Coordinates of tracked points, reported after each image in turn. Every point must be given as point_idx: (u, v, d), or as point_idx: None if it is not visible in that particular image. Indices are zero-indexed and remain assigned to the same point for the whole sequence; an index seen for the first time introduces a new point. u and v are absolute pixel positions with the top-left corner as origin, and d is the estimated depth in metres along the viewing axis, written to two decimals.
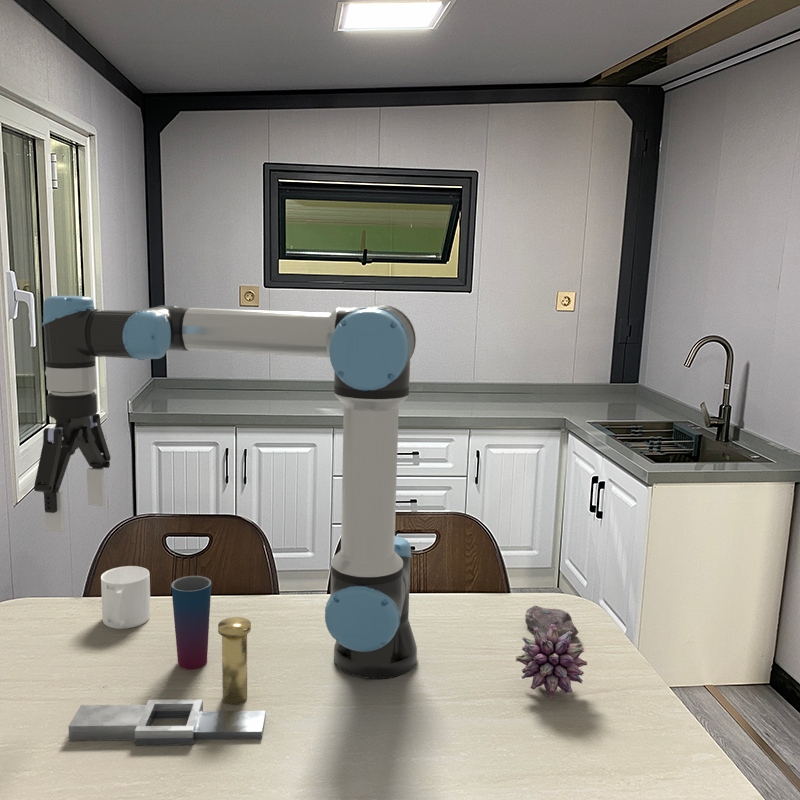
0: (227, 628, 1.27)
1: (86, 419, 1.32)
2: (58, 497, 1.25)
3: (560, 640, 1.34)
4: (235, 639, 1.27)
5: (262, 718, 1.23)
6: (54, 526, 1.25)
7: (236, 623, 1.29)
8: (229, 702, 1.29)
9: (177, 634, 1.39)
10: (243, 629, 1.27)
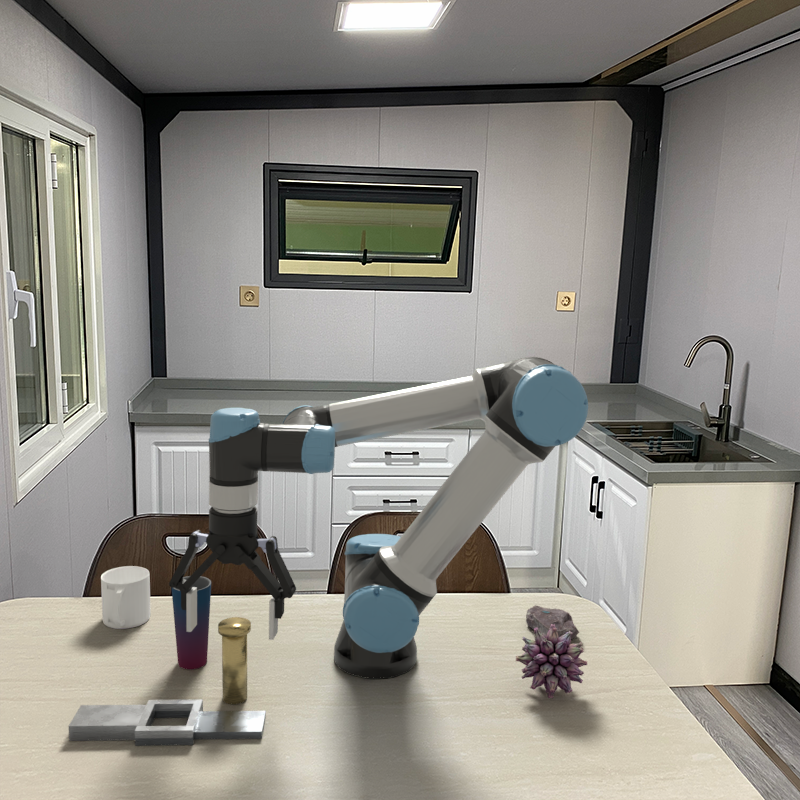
0: (227, 628, 1.27)
1: (245, 540, 1.25)
2: None
3: (560, 640, 1.34)
4: (235, 639, 1.27)
5: (262, 718, 1.23)
6: None
7: (236, 623, 1.29)
8: (229, 702, 1.29)
9: (177, 634, 1.39)
10: (243, 629, 1.27)
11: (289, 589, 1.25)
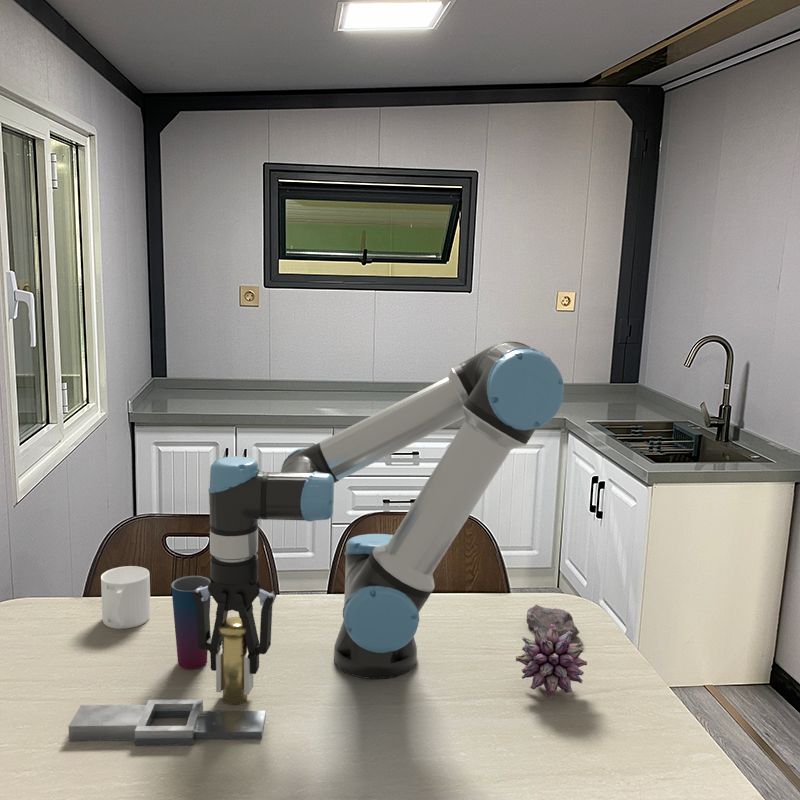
0: (227, 628, 1.27)
1: (249, 586, 1.26)
2: None
3: (560, 640, 1.34)
4: (235, 639, 1.27)
5: (262, 718, 1.23)
6: None
7: (236, 623, 1.29)
8: (229, 702, 1.29)
9: (177, 634, 1.39)
10: (243, 629, 1.27)
11: (265, 646, 1.28)
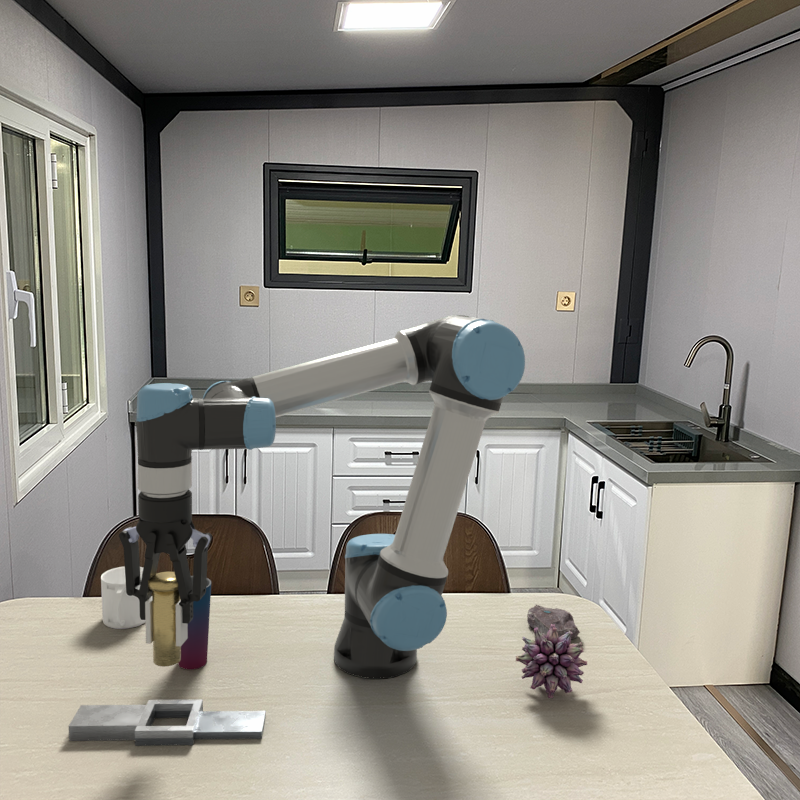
0: (157, 582, 1.16)
1: (181, 525, 1.15)
2: None
3: (560, 640, 1.34)
4: (166, 594, 1.16)
5: (262, 718, 1.23)
6: None
7: (168, 577, 1.18)
8: (160, 664, 1.18)
9: None
10: (175, 583, 1.16)
11: (199, 593, 1.16)
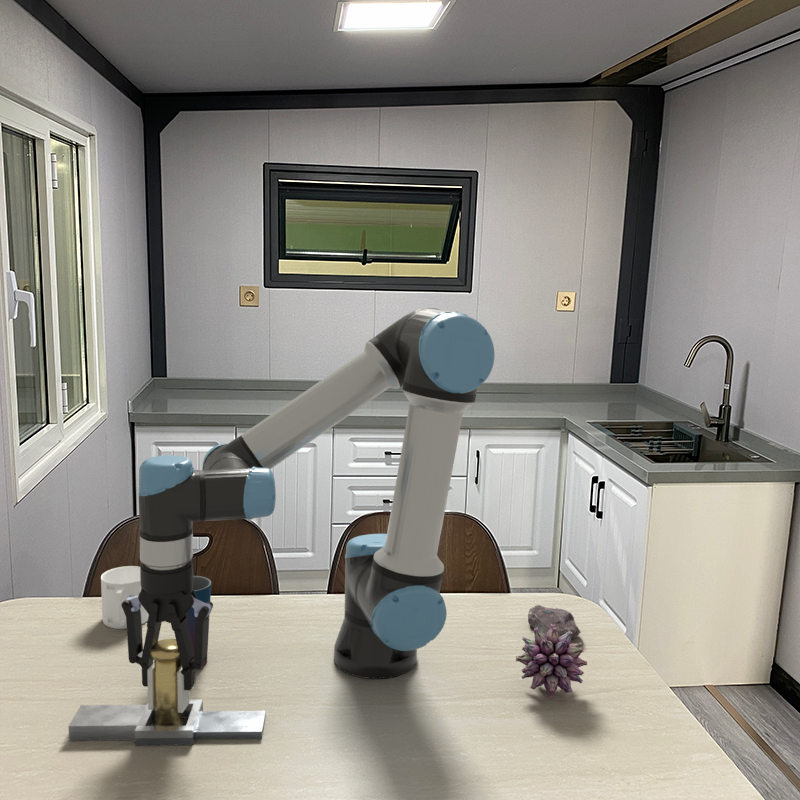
0: (159, 651, 1.18)
1: (182, 595, 1.17)
2: None
3: (560, 640, 1.34)
4: (168, 663, 1.18)
5: (262, 718, 1.23)
6: None
7: (170, 646, 1.20)
8: None
9: None
10: (176, 652, 1.18)
11: (200, 661, 1.18)
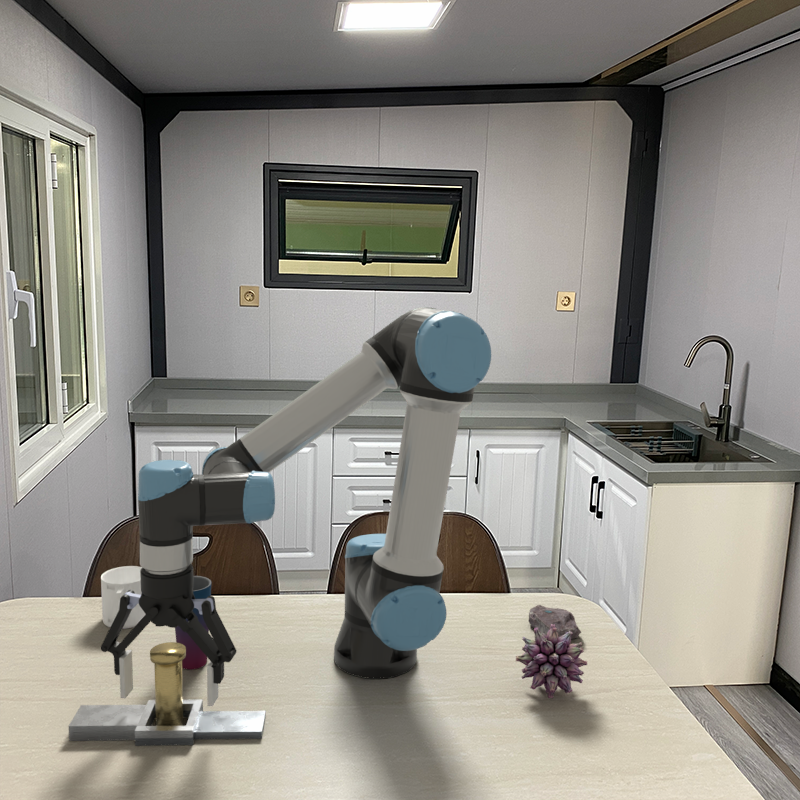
0: (159, 655, 1.18)
1: (179, 601, 1.17)
2: None
3: (560, 640, 1.34)
4: (168, 667, 1.18)
5: (262, 718, 1.23)
6: None
7: (170, 649, 1.20)
8: None
9: (177, 634, 1.39)
10: (176, 656, 1.18)
11: (227, 653, 1.17)
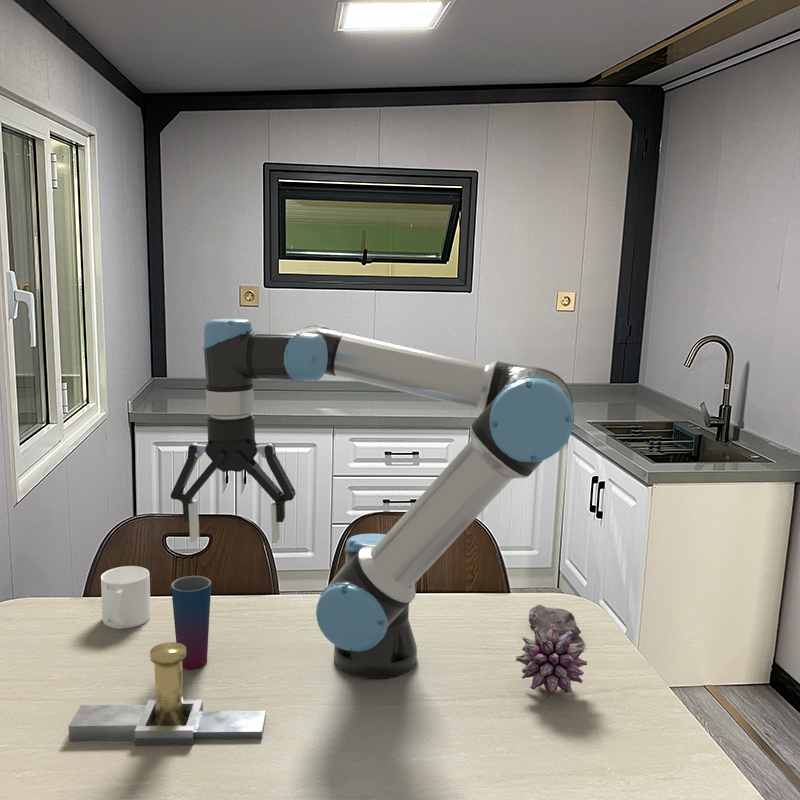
0: (159, 655, 1.18)
1: (244, 446, 1.29)
2: None
3: (560, 640, 1.34)
4: (168, 667, 1.18)
5: (262, 718, 1.23)
6: None
7: (170, 649, 1.20)
8: None
9: (177, 634, 1.39)
10: (176, 656, 1.18)
11: (289, 492, 1.29)
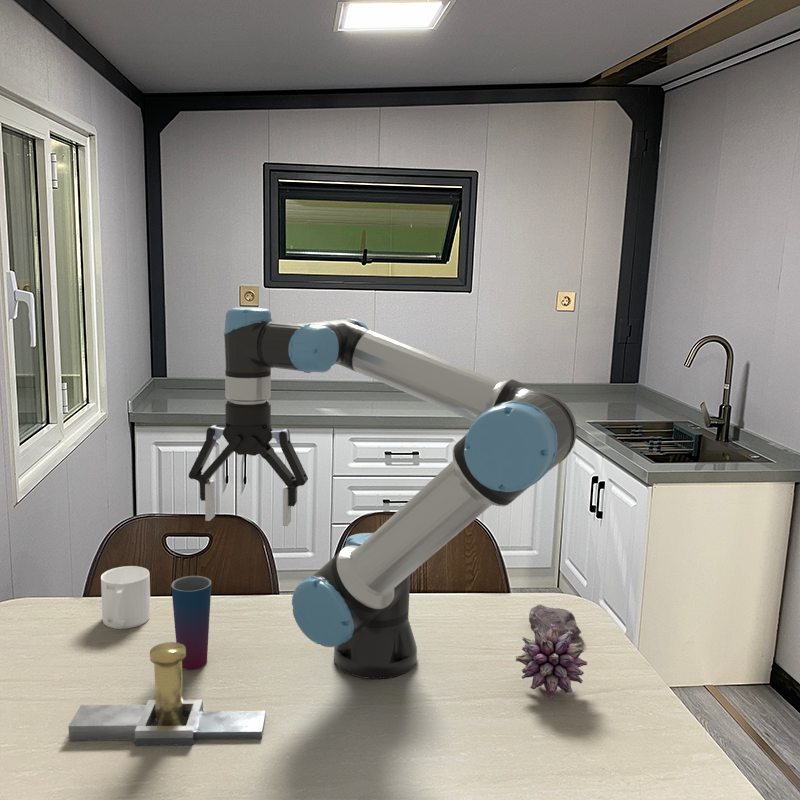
0: (159, 655, 1.18)
1: (259, 431, 1.33)
2: None
3: (560, 640, 1.34)
4: (168, 667, 1.18)
5: (262, 718, 1.23)
6: None
7: (170, 649, 1.20)
8: None
9: (177, 634, 1.39)
10: (176, 656, 1.18)
11: (301, 477, 1.34)
